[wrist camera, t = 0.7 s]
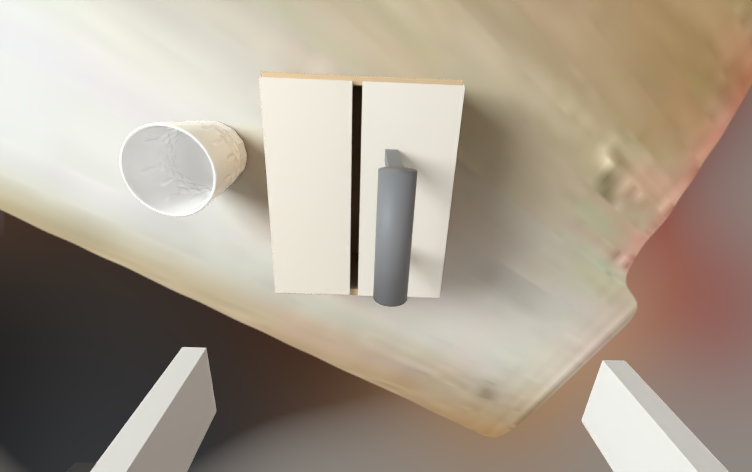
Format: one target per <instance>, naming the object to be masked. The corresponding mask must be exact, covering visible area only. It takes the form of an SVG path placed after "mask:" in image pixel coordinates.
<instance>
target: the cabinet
mask: <svg viewBox="0 0 752 472" xmlns="http://www.w3.org/2000/svg"><path fill="white" fill-rule="evenodd" d="M362 81H370V82H394V83H418V84H442V85H463V82H464V80H449V79H426V78H402V77H378V76H354V75H330V74H306V73H282V72H261V77H259V86H260V99H261V112H262V125H263V138H264V151H265V164H266V177H267V190H268V203H269V216H270V229H271V242H272V255H273V268H274V281H275V293H292V294H328V295H358V263H359V217H360V172H361V126H362Z"/></svg>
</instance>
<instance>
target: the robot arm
mask: <svg viewBox="0 0 752 472" xmlns="http://www.w3.org/2000/svg"><path fill="white" fill-rule="evenodd" d="M215 413H216V405H215V400H214V393H213V387H212V381H211V374H210V369H209V362H208V355H207V349H206V348H193V347H191V348H190V347H182V349H181V350H180V352H179V353H178V354H177V355H176V357H175V358H174V359H173V361H172V362H171V363H170V365H169V366H168V367H167V369H166V370H165V371H164V373H163V374H162V376H161V377H160V378H159V380H158V381H157V382H156V384H155V385H154V386H153V388H152V389H151V390H150V392H149V393H148V395H147V396H146V397H145V398H144V400H143V401H142V403H141V404H140V405H139V407H138V408H137V409H136V411H135V412H134V413H133V415H132V416H131V417H130V419H129V420H128V422H127V423H126V424H125V425H124V427H123V428H122V429H121V431H120V432H119V434H118V435H117V436H116V438H115V439H114V440H113V442H112V443H111V444H110V446H109V447H108V448H107V450H106V451H105V452H104V454H103V455H102V456H101V458H100V459H99V460H98V462H97V463H83V462H77V463H76V464H74V465H73V466H72V467H70V468H69V469H68V470H67V471H65V472H187V470H188V468H189V466H190V464H191V462H192V460H193V458H194V456H195V454H196V451H197V450H198V448H199V446H200V444H201V442H202V439H203V438H204V435H205V433H206V431H207V429H208V427H209V425H210V423H211V421H212V419H213V417H214V415H215ZM582 422H583V424H584V426H585V427H586V429H587V430H588V432H589V434H590V435H591V437H592V438H593V440H594V441H595V443H596V444H597V446H598V448H599V449H600V451H601V452H602V454H603V456H604V457H605V459H606V460H607V462H608V464H609V465H610V467H611V468H612V470H613V471H614V472H728V470H727V469H726V468H725V467H724V466H723V465H722V464H721V463H720V462H719V461H718V460H717V459H716V458H715V457H714V455H713V454H712V453H711V452H710V451H709V450H708V449H707V448H706V447H705V446H704V445H703V444H702V443H701V442H700V440H699V439H698V438H697V437H696V436H695V435H694V434H693V433H692V432H691V431H690V430H689V429H688V428H687V426H686V425H685V424H684V423H682V421H681V420H680V419H679V418H678V417H677V416H676V415H675V414H674V413H673V412H672V410H670V409H669V407H668V406H667V405H666V404H665V403H664V402H663V401H662V400H661V399H660V398H659V397H658V396H657V394H656V393H655V392H654V391H653V390H652V389H651V388H650V387H649V386H648V385H647V384H646V383H645V382H644V381H643V379H641V377H640V376H639V375H638V374H637V373H636V372H635V371H634V370H633V369H632V368H631V367H630V366H629V365H628V363H627V362H625V361H614V360H612V361H611V360H603V361H602V363H601V366H600V369H599V372H598V375H597V378H596V380H595V383H594V386H593V389H592V392H591V395H590V398H589V400H588V404H587V406H586V409H585V412H584V415H583V418H582Z"/></svg>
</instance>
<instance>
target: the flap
mask: <svg viewBox="0 0 752 472" xmlns="http://www.w3.org/2000/svg"><path fill="white" fill-rule="evenodd" d="M464 91H465V85H442V84H418V83H394V82H370V81H362V126H361V172H360V217H359V263H358V296H373V298H374V300H375V301H376V302H377V303H379V304H381V305H384V306H391V307H392V306H399V305H402V304H404V303H405V302H406V301H407V297H426V298H440V290H441V282H442V273H443V265H444V257H445V249H446V240H447V232H448V224H449V215H450V207H451V199H452V191H453V182H454V174H455V166H456V157H457V149H458V141H459V133H460V124H461V116H462V108H463V99H464Z"/></svg>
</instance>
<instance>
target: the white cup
mask: <svg viewBox="0 0 752 472" xmlns="http://www.w3.org/2000/svg"><path fill="white" fill-rule="evenodd" d="M246 160H247V153H246V149H245V146H244V142H243V141H242V139H241V138H240V137H239V135H238V134H237V133H236V132H235V130H234V129H232V128H230V127H228V126H227V125H225V124H223V123H221V122H214V121H174V122H160V123H150V124H146V125H143V126H140V127H138V128H137V129H135V130H134V131H132V132H131V133H130V134H129V135H128V136H127V138H126V139H125V141H124V143H123V145H122V148H121V151H120V169H121V173H122V176H123V179H124V181H125V183H126V185H127V187H128V188H129V190H130V191H131V193H132V194H133V195H134V196H135V197H136V198H137V199H138V200H139V201H140V202H141V203H142V204H144V205H145V206H146V207H148V208H150V209H151V210H153V211H155V212H158V213H160V214H163V215H167V216H174V217H182V216H189V215H192V214H195V213H197V212H199V211H201V210H202V209H203V208H205V207H206V206H207V205H208V204H209V203H210V202H212V201H213V200H214V199H215V198H216V197H218V196H219V195H220V194H221V193H222V192H224V191H225V190H226V189H227V188H228V187H229V186H230V185H231V184H232V183H233V182H234V181H235V180H236V179H237V178H238V177H239V175H240V174H241V173H242V172H243V171H244V169H245V165H246Z"/></svg>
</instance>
